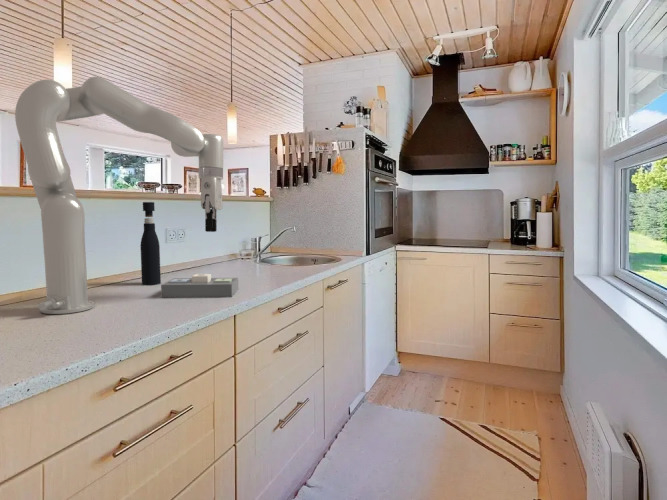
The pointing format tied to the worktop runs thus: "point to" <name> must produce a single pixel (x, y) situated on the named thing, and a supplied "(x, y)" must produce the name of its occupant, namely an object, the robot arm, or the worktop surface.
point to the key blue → (180, 281)
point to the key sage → (223, 280)
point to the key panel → (199, 289)
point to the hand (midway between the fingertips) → (210, 231)
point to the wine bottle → (150, 249)
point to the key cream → (201, 278)
